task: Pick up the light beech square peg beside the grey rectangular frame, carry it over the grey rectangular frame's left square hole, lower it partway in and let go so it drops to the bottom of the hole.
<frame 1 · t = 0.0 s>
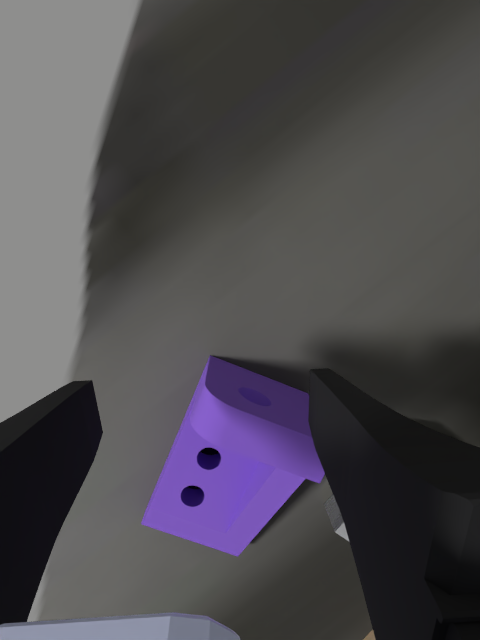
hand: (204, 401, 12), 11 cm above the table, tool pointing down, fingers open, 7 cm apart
bracket: (224, 449, 24), on the table
grey rectangular frame: (445, 522, 25), on the table
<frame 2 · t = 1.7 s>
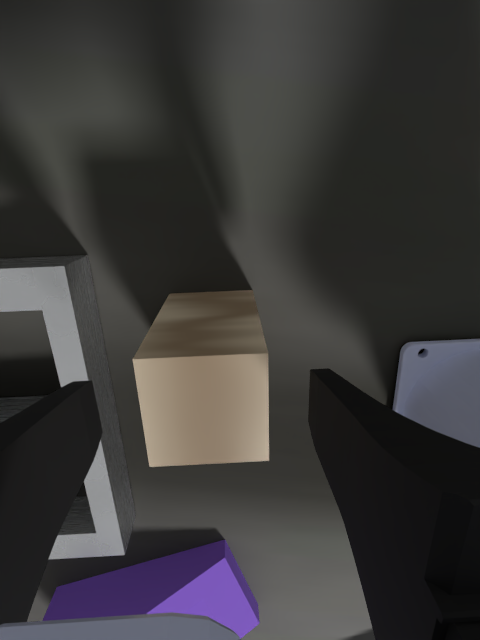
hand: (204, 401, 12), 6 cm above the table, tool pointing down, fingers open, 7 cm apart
peg: (213, 330, 18), on the table
bracket: (161, 587, 25), on the table
grey rectangular frame: (40, 408, 19), on the table
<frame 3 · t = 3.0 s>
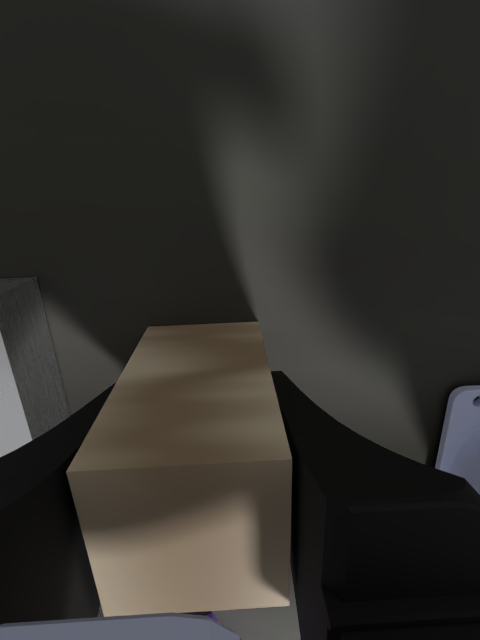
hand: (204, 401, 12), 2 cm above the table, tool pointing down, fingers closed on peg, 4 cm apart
peg: (207, 372, 14), on the table, touching gripper
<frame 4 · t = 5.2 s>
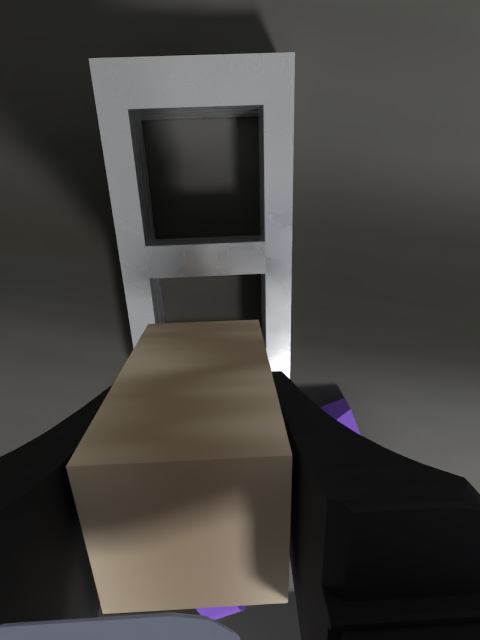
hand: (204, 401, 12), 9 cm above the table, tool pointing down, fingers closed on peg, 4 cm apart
peg: (206, 370, 14), point 7 cm above the table, touching gripper
bracket: (275, 463, 25), on the table
grey rectangular frame: (208, 251, 19), on the table
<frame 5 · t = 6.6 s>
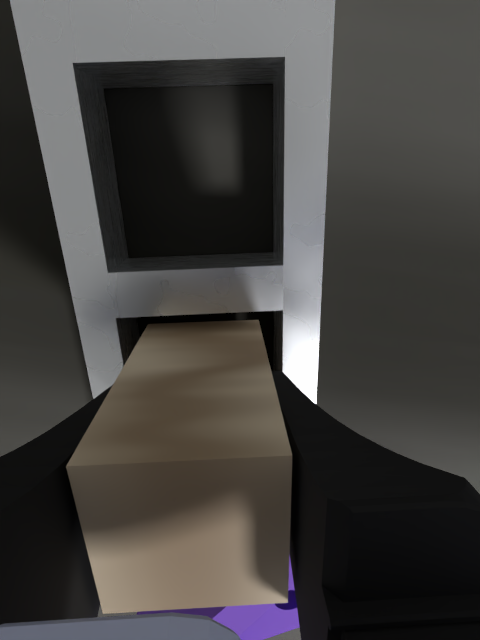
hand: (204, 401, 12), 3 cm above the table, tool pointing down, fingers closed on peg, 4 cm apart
peg: (206, 370, 14), point 1 cm above the table, touching gripper
bracket: (281, 532, 19), on the table
grey rectangular frame: (202, 274, 14), on the table
when the fingers open (3 cm above the table, at t = 7.6 s): peg drops 2 cm, resting in grey rectangular frame.
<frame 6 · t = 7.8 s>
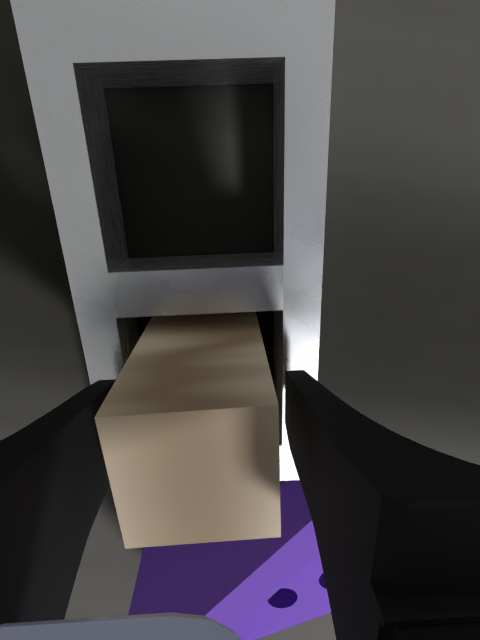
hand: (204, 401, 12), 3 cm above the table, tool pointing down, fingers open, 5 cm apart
peg: (208, 353, 15), resting in grey rectangular frame
bracket: (274, 531, 19), on the table
grey rectangular frame: (202, 274, 14), on the table
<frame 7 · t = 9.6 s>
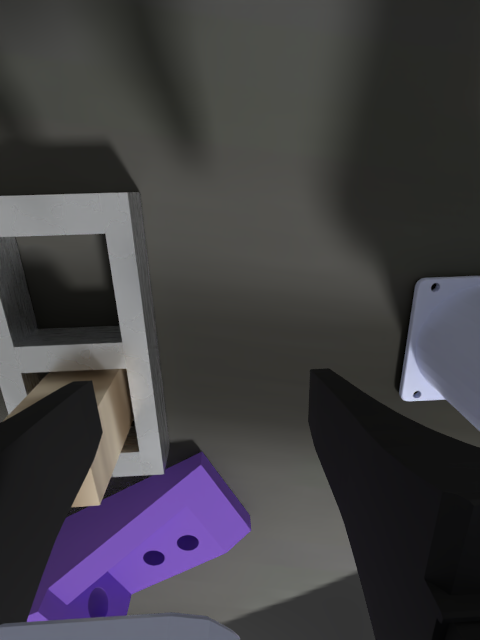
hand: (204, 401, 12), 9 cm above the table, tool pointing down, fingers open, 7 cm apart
peg: (98, 388, 22), resting in grey rectangular frame
bracket: (157, 511, 26), on the table
grey rectangular frame: (88, 338, 21), on the table
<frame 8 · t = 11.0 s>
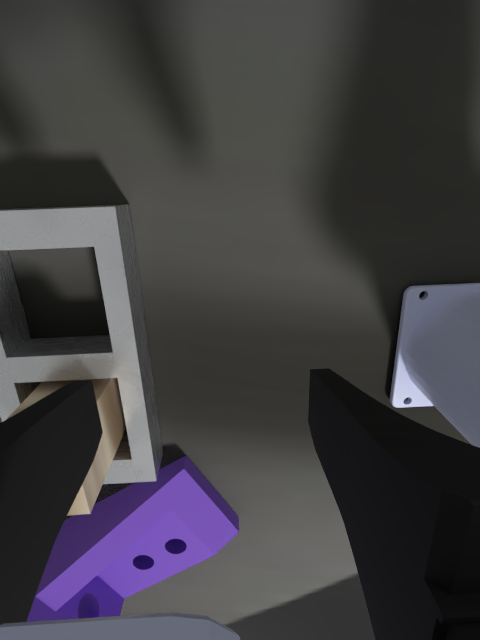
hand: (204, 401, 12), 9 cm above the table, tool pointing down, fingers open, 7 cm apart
peg: (91, 396, 22), resting in grey rectangular frame
bracket: (146, 516, 27), on the table
grey rectangular frame: (80, 348, 21), on the table
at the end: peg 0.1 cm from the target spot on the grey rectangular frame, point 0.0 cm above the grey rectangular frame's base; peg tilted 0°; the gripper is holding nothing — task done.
